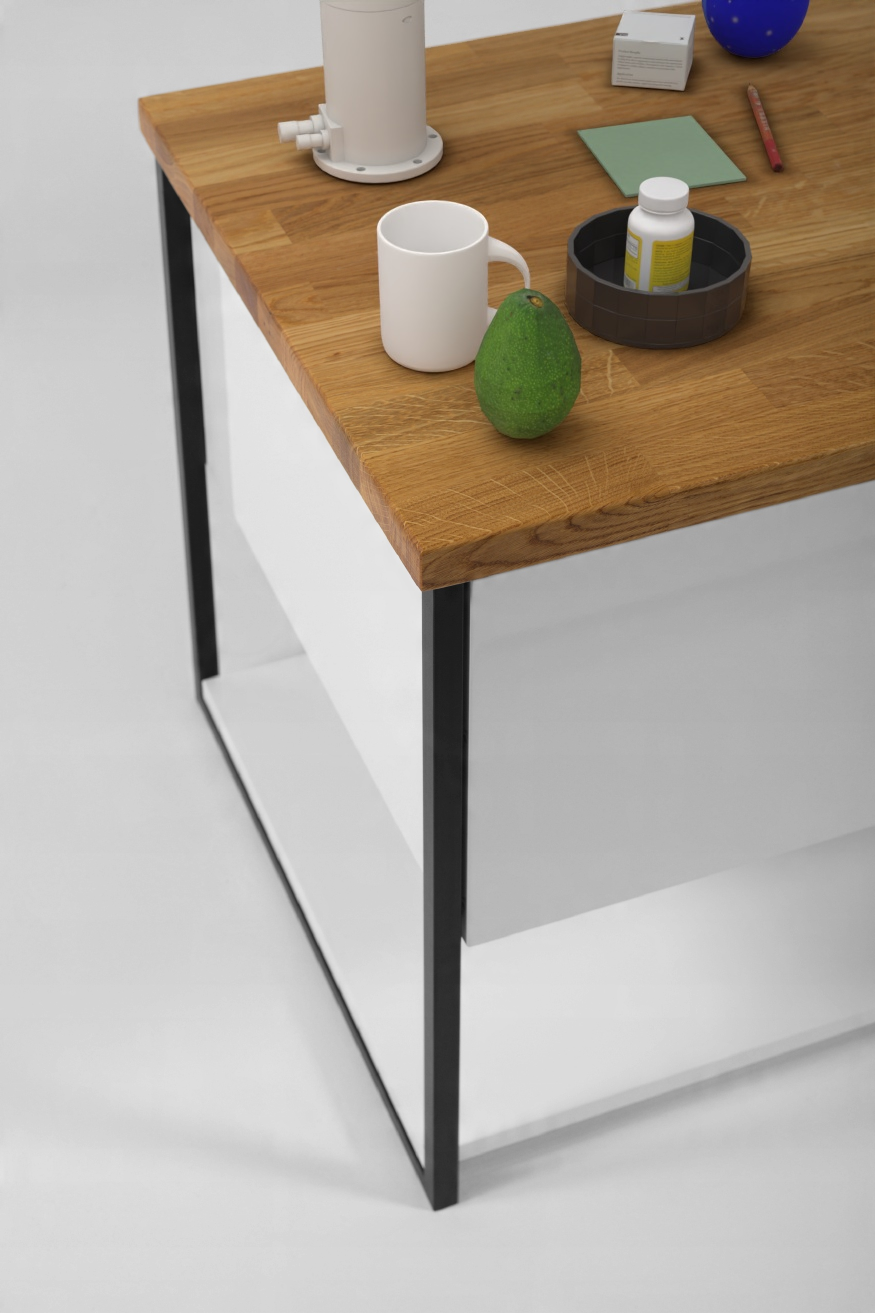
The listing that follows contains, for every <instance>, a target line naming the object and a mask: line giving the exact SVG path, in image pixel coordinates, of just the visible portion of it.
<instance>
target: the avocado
mask: <svg viewBox="0 0 875 1313" xmlns="http://www.w3.org/2000/svg"><path fill="white" fill-rule="evenodd" d="M497 309H498V310H497V312H496V314H495V316H494V318H493V320H492V321H491V323H490V325H489V327H488V329H487V331H486V333H485V335H484V337H483V340H482V342H481V345H480V348H479V350H478V353H477V355H476V358H475V360H474V372H473V373H474V375H473V383H474V384H473V385H474V391H475V394H476V397H477V401H478V404H479V407H480V410H481V412H482V413H483V415H484V416H485V417H486V418H487V420H488V422H489V423H490V424H491V425H492V427H493V428H494V429H495V430H496V431H497V432H499V433H500V434H501V435H504V436H507V437H509V438H511V439H532V440H533V439H536V438H539V437H541V436H544V435H546V434H549V433H550V432H551V431H553V430H554V429H555V428H557V427H558V426H559V425H561V424H562V423H563V422H564V421H565V420H566V418H567V416H568V415H569V413H570V412H571V410H572V409H573V408H574V406H575V403H576V402H577V399H578V397H579V395H580V392H581V385H582V360H583V358H582V357H581V356H582V355H581V353H580V350H579V347H578V345H577V342H576V339H575V336H574V334H573V330H572V329H571V328H570V326H569V324H568V322H567V320H566V318H565V317H564V314H563V312H561V310H560V308H559V307H558V305H557V304H555V302H553V301H552V300H551V299H550V297H548V296H546V295H545V294H544V293H542V292H541V291H540V290H537V289H531V288H530V289H527V288H525V287H523V288H520V289H518V290H515V291H512V292H510V293H509V294H508V295H507V296H506V298H504V300H503V301H502V303H501V304H500V305H499V307H498V308H497Z"/></svg>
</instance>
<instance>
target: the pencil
mask: <svg viewBox="0 0 875 1313" xmlns="http://www.w3.org/2000/svg"><path fill="white" fill-rule="evenodd" d="M746 94H747V98H748V100H749V103H750V106H751V109H752V112H753V115H754V118H755V121H756V123H757V124H756V125H757V127H758V130H759V133H760V136H761V138H762V141H763V144H764V147H765V150H766V153H767V156H768V159H769V162H770V166H771V169H772V170H773V172H774V173H779V172H782V170H783V168H784V166H783V162H782V159H781V157H780V153H779V150H778V148H777V145H776V141H775V138H774V136H773V133H772V130H771V127H770V125H769V121H768V118H767V115H766V113H765V109H764V107H763V104H762V101H761V97H760V95H759V92H758V90H757V88H755V87H754V86H753V84H751V83H750V82H749V83H748V86H747V91H746Z"/></svg>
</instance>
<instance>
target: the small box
mask: <svg viewBox="0 0 875 1313" xmlns="http://www.w3.org/2000/svg"><path fill="white" fill-rule="evenodd" d="M695 29H696V14H679V13H664V12H649V11H637V10H627V9H626V10H623V13H622V16H621V18H620V21H619V23H618V25H617V28H616V31H615V33H614V36H613V39H612V60H611V61H612V63H611V86H621V87H633V88H645V89H646V88H647V89H659V90H660V89H661V90H672V91H673V90H674V91H681V92H682V91H685V89H686V85H687V82H688V78H689V74H690V71H691V68H692V65H693V60H694V42H695Z"/></svg>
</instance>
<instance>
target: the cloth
mask: <svg viewBox="0 0 875 1313" xmlns="http://www.w3.org/2000/svg"><path fill="white" fill-rule="evenodd" d="M576 132H577V135H578V136H579V138H580V139H581V140H582V142H583V143H584V144H585V146H586V147H587V148H588V150H589V151H590V152H591V153H592V155H593V156H594V158H595V160H596V161H597V162H598V163H599V165H600V166H601V167H602V168H603V170H604V171H605V172H606V174H607V175H608V176H609V177H610V179H611V180H612V182H613V183H614V184H615V185H616V187H617V188H618V190H619V191H620V192H621V193H622V195H623V196H624V197H625V198H634V197H638V196H639V187H640V185H641V183H642V182H644V181H645V180H647V179H650V178H654V177H671V178H675V179H679V180H681V181H683V182H684V183H686V184H687V185H688V187H689V190H690V189H696V188H698V189H699V188H704V187H711V186H718V185H725V184H732V183H737V182H738V183H739V182H746V181H747V177H746V176H745V174H744V173H743V172H742V171H741V170H740V169H739V167H737V165H736V164H735V163H734V162H733V161H732V160H731V159H730V157H728V155H727V154H726V153H725V152H724V151H723V149H722V148H721V147H720V146H719V145H718V144H717V143H716V142H715V140H714V139H713V138H712V137H711V136H710V135H709V134H708V133H707V131H706V130H705V129H704V128H703V127H702V125H700V123H699V122H698V121H697V120H696V119H695V118H694V117H693V116H692V115H685V116H676V117H670V118H669V117H668V118H662V119H654V120H647V121H640V122H631V123H625V124H617V125H616V124H615V125H609V126H602V127H595V128H587V129H580V130H577V131H576Z"/></svg>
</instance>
